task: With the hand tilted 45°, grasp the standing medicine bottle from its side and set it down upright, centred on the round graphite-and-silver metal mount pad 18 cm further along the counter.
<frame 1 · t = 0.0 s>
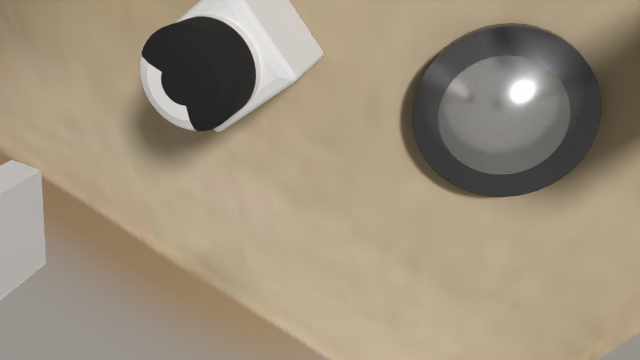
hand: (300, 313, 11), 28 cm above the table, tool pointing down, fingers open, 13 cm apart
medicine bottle: (262, 39, 39), on the table
mount pad: (501, 112, 36), on the table
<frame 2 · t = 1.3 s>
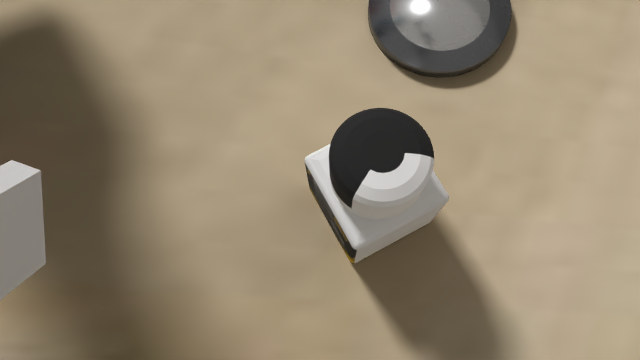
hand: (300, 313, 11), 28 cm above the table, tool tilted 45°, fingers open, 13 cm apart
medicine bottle: (369, 204, 41), on the table
mount pad: (436, 15, 45), on the table
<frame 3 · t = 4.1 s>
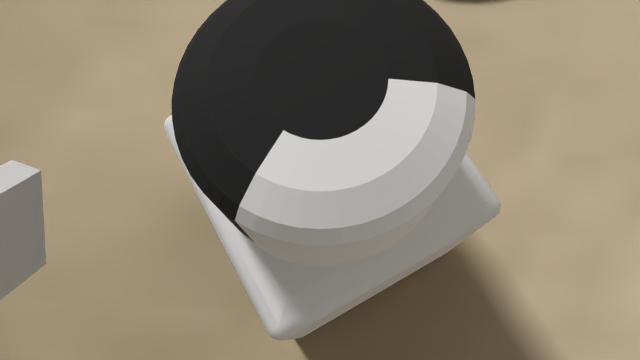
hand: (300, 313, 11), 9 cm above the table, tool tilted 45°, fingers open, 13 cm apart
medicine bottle: (330, 217, 21), on the table
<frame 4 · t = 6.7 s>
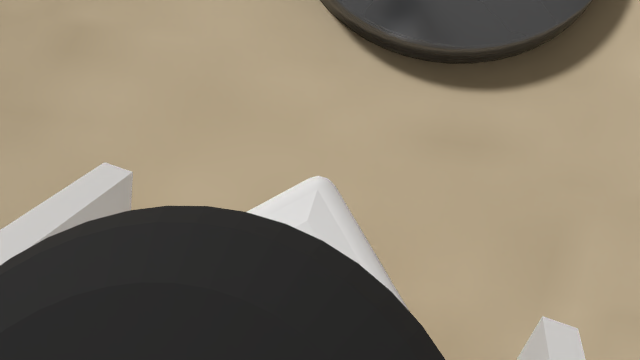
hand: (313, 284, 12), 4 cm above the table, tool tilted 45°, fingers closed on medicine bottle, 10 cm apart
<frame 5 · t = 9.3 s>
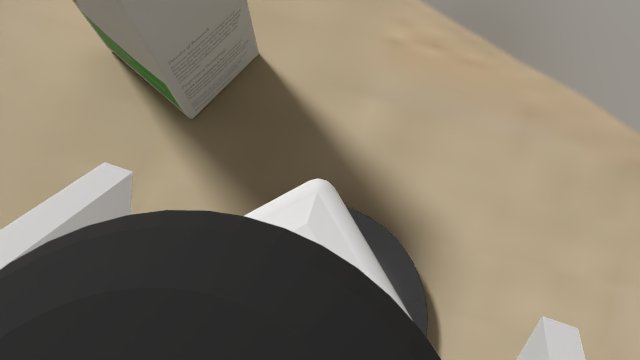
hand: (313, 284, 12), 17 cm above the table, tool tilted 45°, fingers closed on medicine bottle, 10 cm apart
skincare box: (188, 51, 34), on the table
mount pad: (313, 314, 28), on the table
when the fingers open (6 cm above the table, at t = 12.4 s): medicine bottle drops 1 cm, resting on mount pad.
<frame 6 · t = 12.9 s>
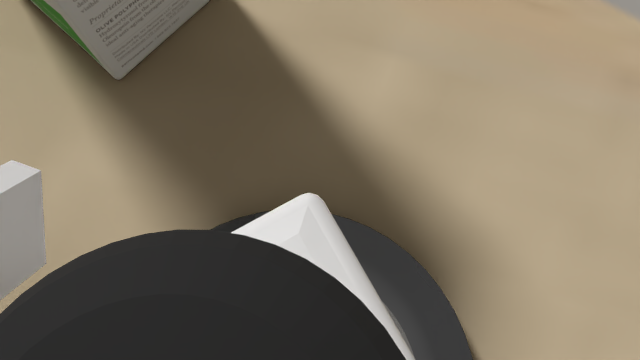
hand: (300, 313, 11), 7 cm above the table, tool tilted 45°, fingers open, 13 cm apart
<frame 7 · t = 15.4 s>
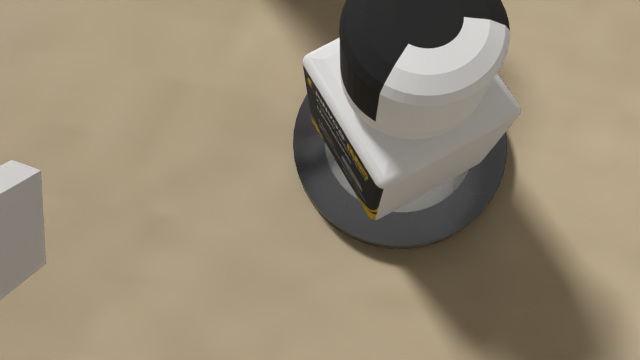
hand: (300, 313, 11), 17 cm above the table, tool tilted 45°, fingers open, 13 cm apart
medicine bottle: (394, 140, 30), point 1 cm above the table, touching mount pad
mount pad: (396, 147, 30), on the table
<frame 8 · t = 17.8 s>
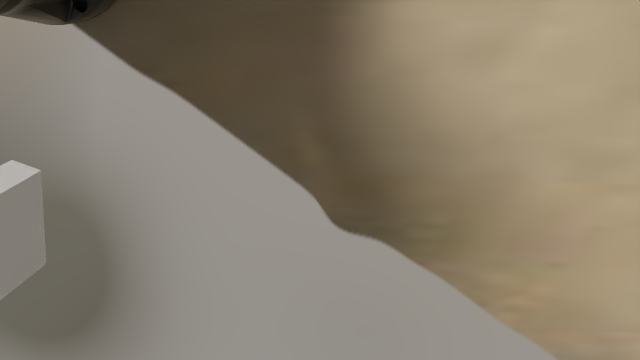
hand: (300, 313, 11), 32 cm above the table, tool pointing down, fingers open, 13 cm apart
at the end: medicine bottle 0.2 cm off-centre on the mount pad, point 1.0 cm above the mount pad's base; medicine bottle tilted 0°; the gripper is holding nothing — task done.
